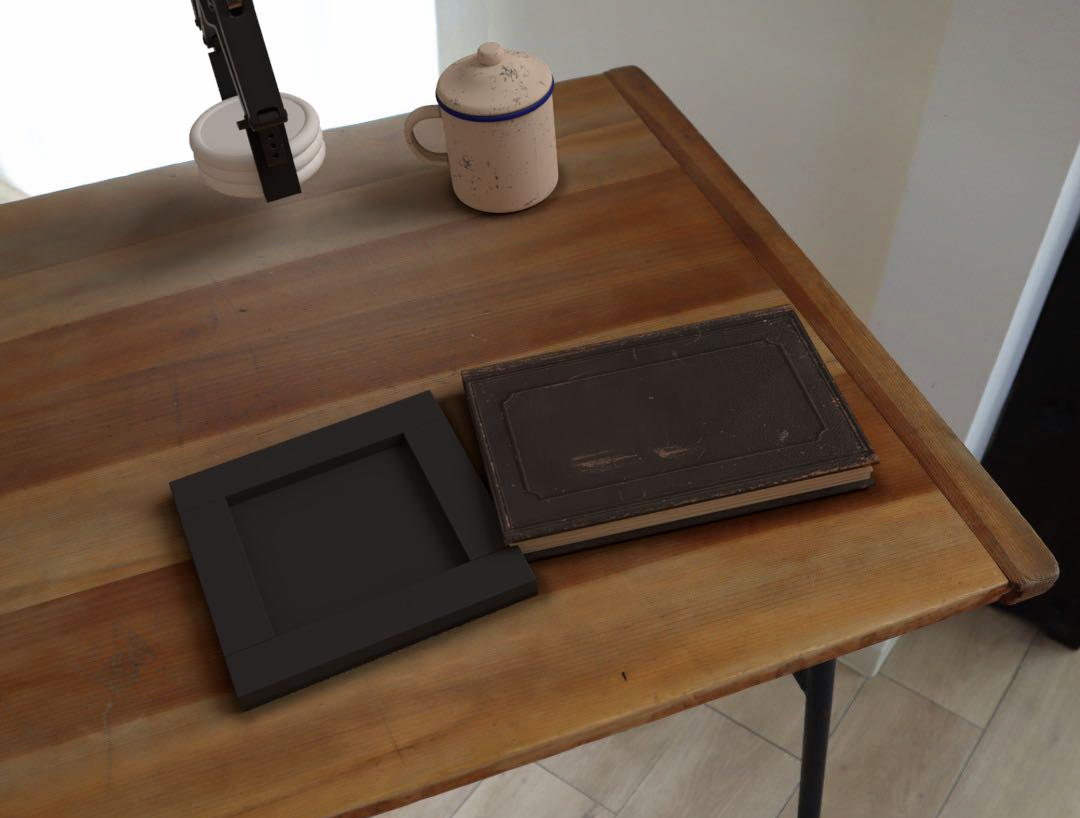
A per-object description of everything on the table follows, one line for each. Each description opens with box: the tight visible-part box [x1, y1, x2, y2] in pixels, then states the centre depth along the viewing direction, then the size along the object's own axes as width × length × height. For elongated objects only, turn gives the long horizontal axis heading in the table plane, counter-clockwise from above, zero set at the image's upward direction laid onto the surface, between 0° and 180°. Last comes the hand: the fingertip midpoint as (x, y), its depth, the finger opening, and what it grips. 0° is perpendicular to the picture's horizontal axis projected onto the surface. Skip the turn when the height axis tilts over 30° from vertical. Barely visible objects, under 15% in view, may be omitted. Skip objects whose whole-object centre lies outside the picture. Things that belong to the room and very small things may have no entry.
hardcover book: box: [460, 303, 881, 562], centre depth 76 cm, size 16×23×2 cm
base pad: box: [168, 389, 540, 712], centre depth 72 cm, size 18×18×2 cm
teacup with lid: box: [403, 41, 559, 214], centre depth 92 cm, size 12×9×12 cm
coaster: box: [188, 91, 327, 199], centre depth 91 cm, size 10×10×4 cm
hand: (265, 160), depth 92 cm, fingers closed on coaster, 10 cm apart
